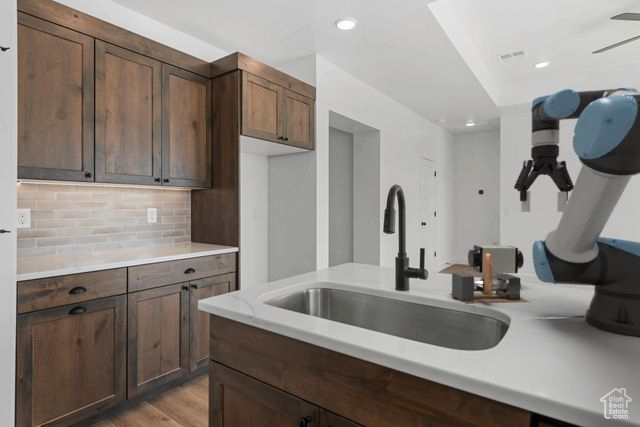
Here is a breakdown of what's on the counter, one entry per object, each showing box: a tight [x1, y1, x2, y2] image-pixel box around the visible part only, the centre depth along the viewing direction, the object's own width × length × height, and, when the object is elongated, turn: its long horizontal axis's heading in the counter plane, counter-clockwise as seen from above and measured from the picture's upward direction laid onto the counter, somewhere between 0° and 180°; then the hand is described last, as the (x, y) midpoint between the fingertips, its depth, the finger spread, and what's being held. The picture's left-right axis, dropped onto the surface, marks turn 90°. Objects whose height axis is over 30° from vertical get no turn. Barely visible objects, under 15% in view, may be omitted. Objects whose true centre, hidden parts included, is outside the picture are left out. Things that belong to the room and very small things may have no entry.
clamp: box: [495, 273, 521, 300], centre depth 117 cm, size 7×4×7 cm, turn 5°
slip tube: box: [474, 253, 522, 296], centre depth 113 cm, size 20×10×14 cm, turn 95°
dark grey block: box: [451, 271, 475, 302], centre depth 116 cm, size 7×4×8 cm, turn 5°
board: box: [449, 292, 531, 305], centre depth 117 cm, size 12×22×1 cm, turn 95°
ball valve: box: [467, 241, 525, 281], centre depth 134 cm, size 18×8×18 cm, turn 84°
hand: (543, 211), depth 111 cm, fingers open, 13 cm apart
